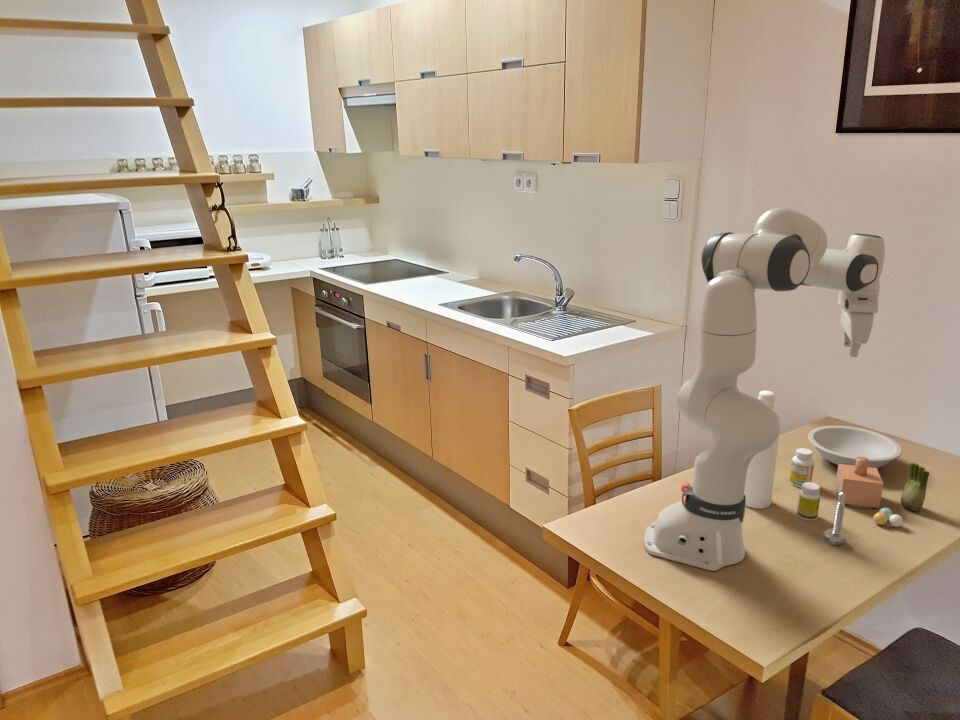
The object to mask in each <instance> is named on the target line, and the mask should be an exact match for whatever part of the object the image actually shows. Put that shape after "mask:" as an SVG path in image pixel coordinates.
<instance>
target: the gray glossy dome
mask: <svg viewBox="0 0 960 720" xmlns="http://www.w3.org/2000/svg"><path fill="white" fill-rule="evenodd" d="M834 497H835V499H836V500H837V501H838V495H837V492H836V491H835V492H834ZM845 506H849V507H851V508H856V509H862V510H863V509H865V510H868V509H874V508H875V507H868V506H860V505H852V504H845Z"/></svg>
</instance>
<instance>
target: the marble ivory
mask: <svg viewBox="0 0 960 720" xmlns="http://www.w3.org/2000/svg"><path fill="white" fill-rule="evenodd" d="M888 523H889V525H891V526H892V527H893V528H899V527H901V526H902V525H903V523H904V520H903V517H902V516H901V515H899V514H897V513H896V514H895V513H894V514H893V515H891V516H890V517H889V520H888Z"/></svg>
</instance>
